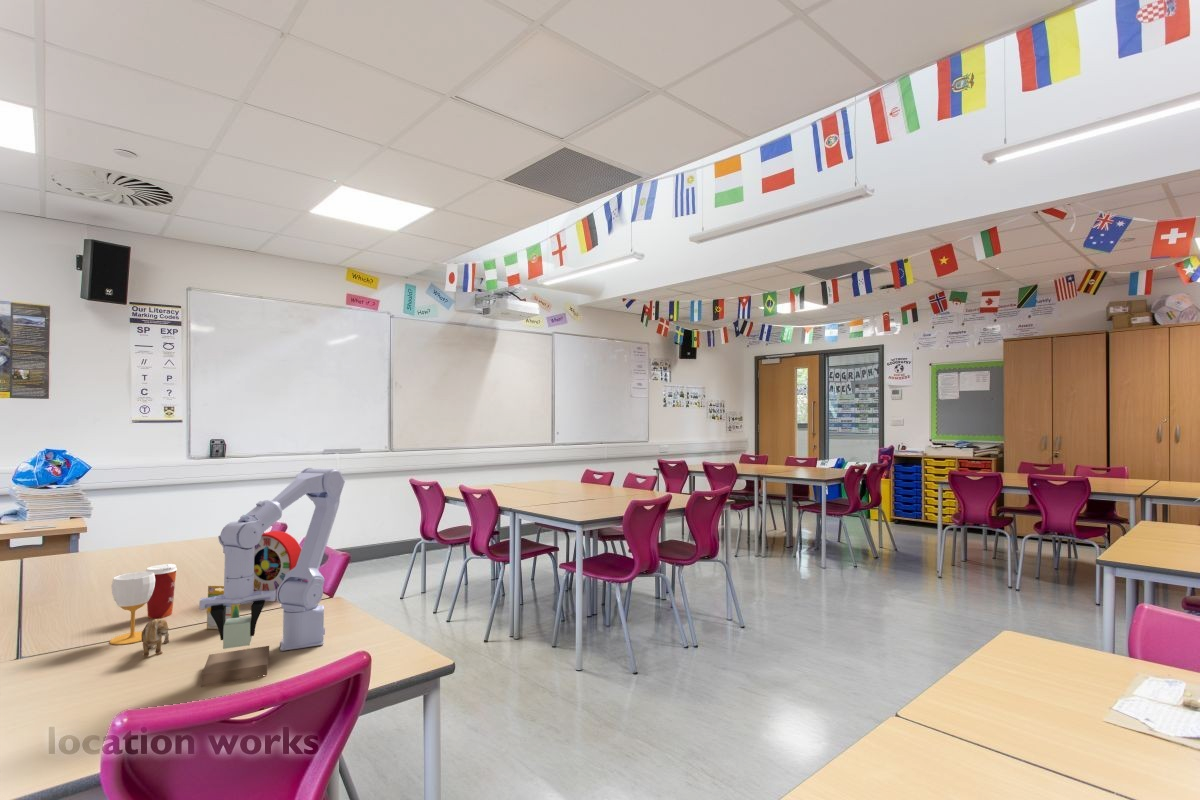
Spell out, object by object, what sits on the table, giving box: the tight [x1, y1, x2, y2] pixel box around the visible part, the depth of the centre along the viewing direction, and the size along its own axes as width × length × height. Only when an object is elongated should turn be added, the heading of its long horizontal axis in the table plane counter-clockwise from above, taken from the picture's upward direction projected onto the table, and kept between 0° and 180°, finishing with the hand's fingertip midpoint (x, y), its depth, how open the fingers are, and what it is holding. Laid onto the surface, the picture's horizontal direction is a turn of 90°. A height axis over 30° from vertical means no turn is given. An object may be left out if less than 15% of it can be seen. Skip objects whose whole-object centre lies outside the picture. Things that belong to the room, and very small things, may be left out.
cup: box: [109, 571, 155, 646], centre depth 152 cm, size 9×9×16 cm
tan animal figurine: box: [141, 618, 170, 659], centre depth 144 cm, size 15×5×9 cm, turn 35°
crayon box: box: [206, 585, 240, 630], centre depth 159 cm, size 7×3×12 cm, turn 84°
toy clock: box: [254, 530, 302, 593], centre depth 191 cm, size 20×6×20 cm, turn 80°
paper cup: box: [145, 563, 178, 620], centre depth 170 cm, size 8×8×14 cm
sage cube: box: [222, 615, 253, 650], centre depth 132 cm, size 5×5×5 cm
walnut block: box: [200, 645, 270, 688], centre depth 132 cm, size 12×12×3 cm
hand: (237, 636), depth 132 cm, fingers closed on sage cube, 5 cm apart
